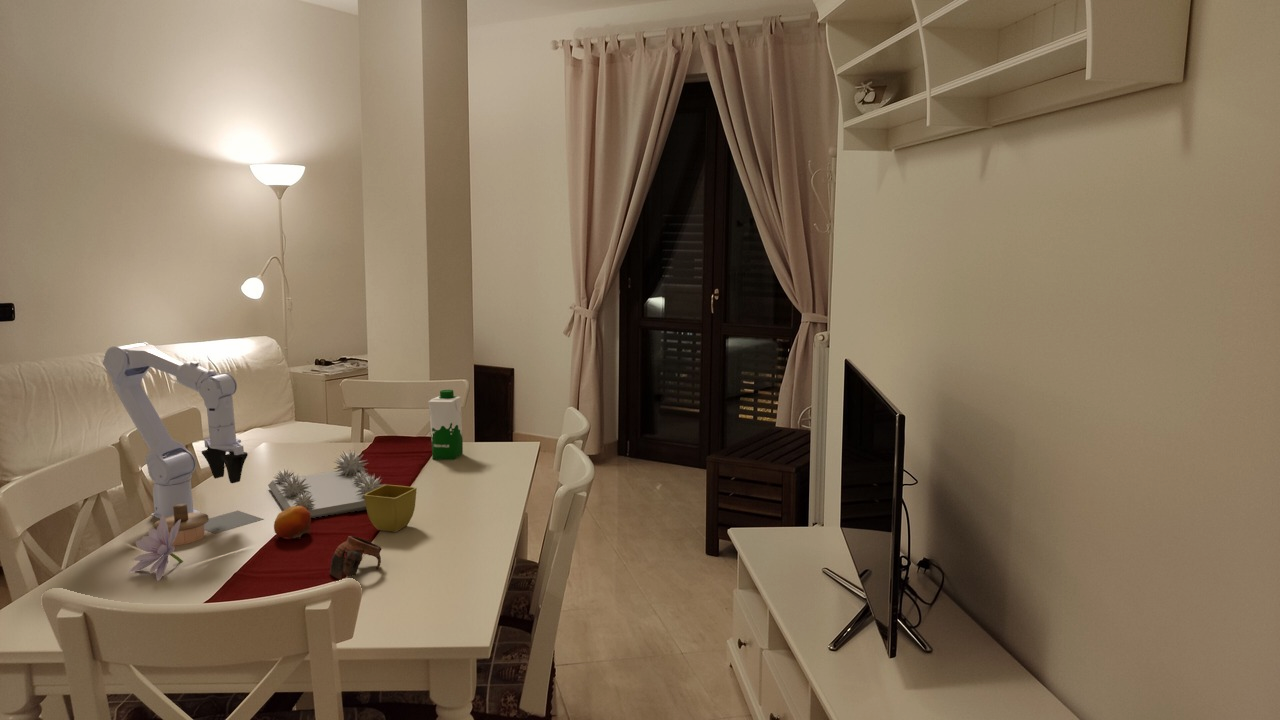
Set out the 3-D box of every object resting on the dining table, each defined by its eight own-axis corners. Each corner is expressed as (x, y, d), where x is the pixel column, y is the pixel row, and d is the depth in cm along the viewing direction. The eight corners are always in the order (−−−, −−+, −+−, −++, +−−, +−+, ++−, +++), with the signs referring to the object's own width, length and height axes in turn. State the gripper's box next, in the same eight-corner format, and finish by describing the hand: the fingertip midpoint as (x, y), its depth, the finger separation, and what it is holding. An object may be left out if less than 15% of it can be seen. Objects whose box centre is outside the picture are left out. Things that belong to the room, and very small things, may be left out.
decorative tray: (268, 491, 239) (264, 455, 238) (365, 475, 252) (362, 441, 251) (291, 526, 210) (287, 486, 208) (399, 507, 223) (397, 468, 221)
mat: (189, 525, 211) (189, 523, 211) (237, 512, 220) (237, 510, 220) (215, 535, 204) (215, 533, 204) (264, 520, 213) (263, 519, 213)
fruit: (306, 537, 197) (287, 506, 197) (281, 553, 199) (261, 522, 199) (326, 525, 205) (308, 495, 204) (301, 540, 207) (283, 511, 206)
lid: (145, 526, 200) (143, 507, 200) (193, 513, 209) (192, 495, 208) (168, 535, 194) (166, 516, 193) (217, 521, 203) (216, 503, 202)
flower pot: (419, 523, 208) (417, 486, 207) (398, 536, 200) (395, 497, 199) (388, 520, 211) (385, 484, 210) (365, 532, 203) (362, 494, 202)
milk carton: (466, 453, 274) (463, 389, 271) (455, 460, 265) (452, 395, 262) (439, 452, 275) (436, 389, 272) (428, 460, 266) (424, 394, 263)
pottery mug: (327, 569, 183) (345, 531, 184) (371, 585, 184) (388, 548, 186) (321, 576, 171) (340, 535, 173) (368, 593, 173) (386, 553, 175)
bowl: (147, 541, 201) (145, 526, 200) (191, 529, 208) (190, 514, 208) (168, 550, 195) (166, 535, 194) (213, 537, 202) (211, 522, 202)
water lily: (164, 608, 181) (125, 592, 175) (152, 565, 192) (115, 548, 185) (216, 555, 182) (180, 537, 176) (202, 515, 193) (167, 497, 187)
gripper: (253, 425, 210) (258, 480, 212) (222, 418, 219) (227, 471, 221) (225, 430, 205) (230, 487, 207) (193, 423, 213) (199, 478, 215)
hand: (226, 479), depth 213 cm, fingers open, 7 cm apart
